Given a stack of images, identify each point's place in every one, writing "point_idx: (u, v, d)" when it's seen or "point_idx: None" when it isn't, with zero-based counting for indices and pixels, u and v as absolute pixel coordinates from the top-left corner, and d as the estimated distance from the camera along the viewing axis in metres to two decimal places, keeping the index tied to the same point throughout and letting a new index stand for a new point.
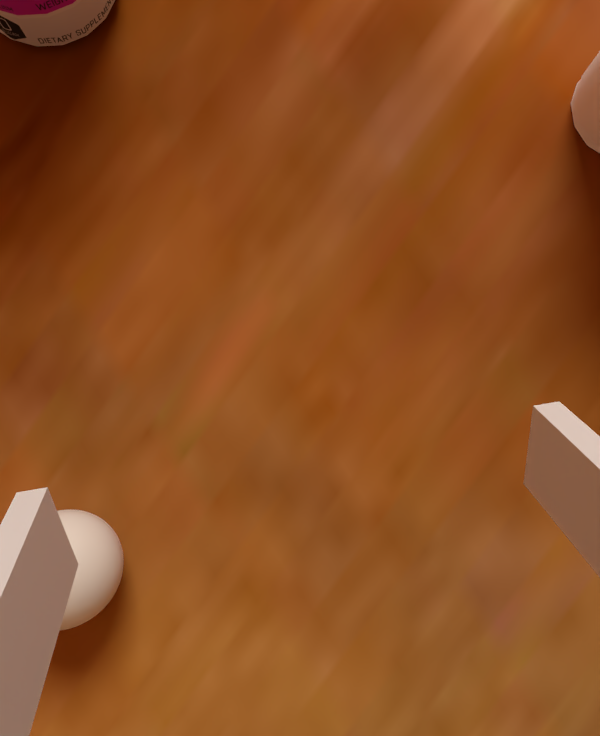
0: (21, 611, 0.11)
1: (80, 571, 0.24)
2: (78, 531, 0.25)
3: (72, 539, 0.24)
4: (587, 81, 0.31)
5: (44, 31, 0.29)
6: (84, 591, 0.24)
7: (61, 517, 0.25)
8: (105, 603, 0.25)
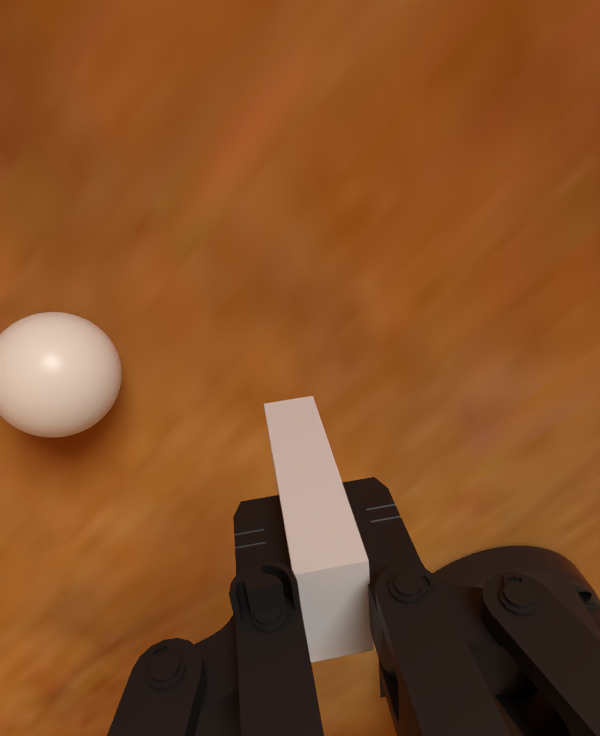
0: None
1: (79, 390, 0.22)
2: (72, 346, 0.22)
3: (67, 356, 0.21)
4: None
5: None
6: (86, 409, 0.22)
7: (49, 327, 0.22)
8: (106, 413, 0.24)
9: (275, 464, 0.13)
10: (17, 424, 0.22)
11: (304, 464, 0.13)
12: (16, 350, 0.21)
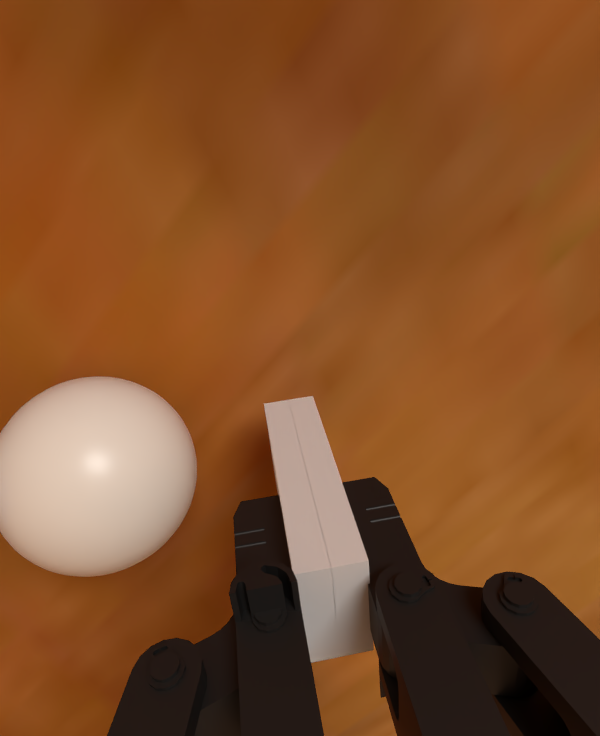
0: None
1: None
2: None
3: None
4: None
5: None
6: None
7: (52, 387, 0.15)
8: None
9: (275, 464, 0.13)
10: None
11: (304, 463, 0.13)
12: None
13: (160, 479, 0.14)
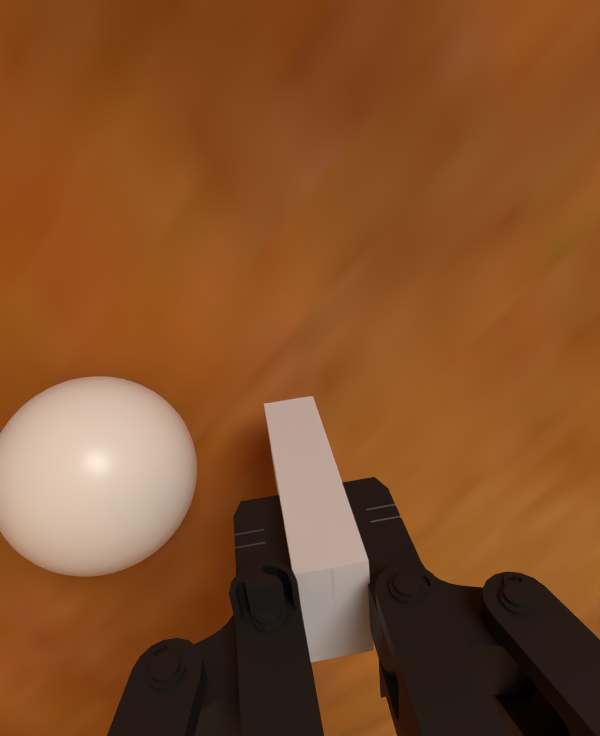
0: None
1: None
2: None
3: None
4: None
5: None
6: None
7: (52, 387, 0.15)
8: None
9: (275, 464, 0.13)
10: None
11: (304, 464, 0.13)
12: None
13: (160, 479, 0.14)
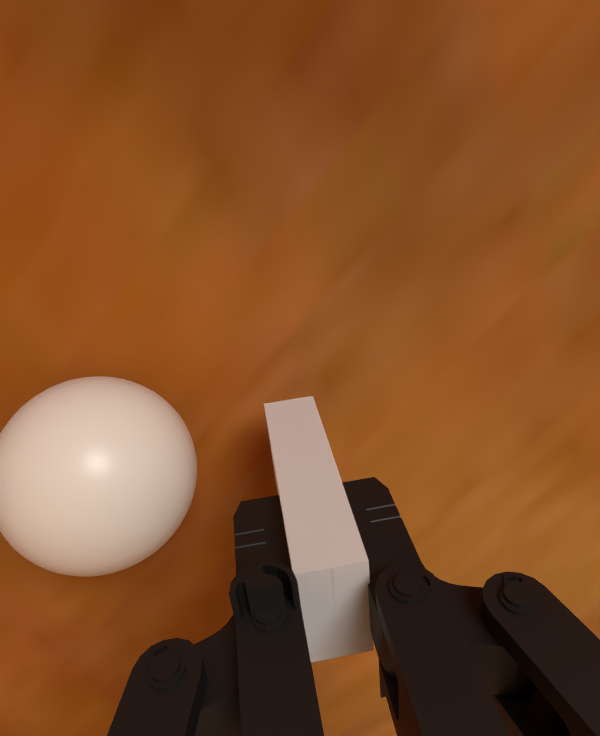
0: None
1: None
2: None
3: None
4: None
5: None
6: None
7: (52, 387, 0.15)
8: None
9: (275, 464, 0.13)
10: None
11: (304, 464, 0.13)
12: None
13: (160, 479, 0.14)
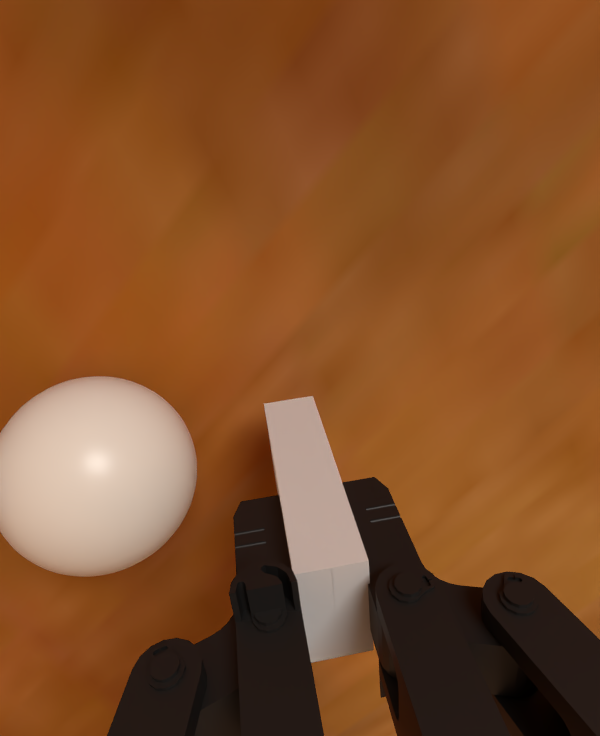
0: None
1: None
2: None
3: None
4: None
5: None
6: None
7: (52, 387, 0.15)
8: None
9: (275, 464, 0.13)
10: None
11: (304, 464, 0.13)
12: None
13: (160, 479, 0.14)
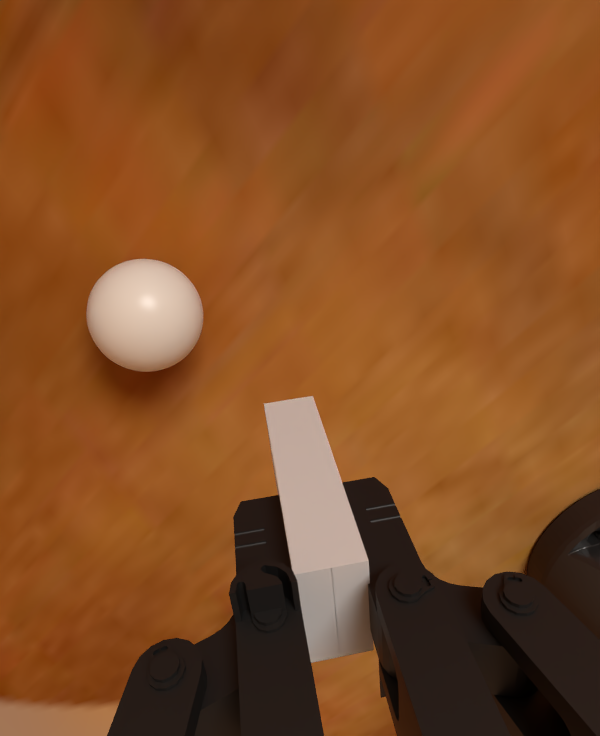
0: None
1: None
2: None
3: None
4: None
5: None
6: None
7: (121, 263, 0.26)
8: None
9: (275, 464, 0.13)
10: None
11: (304, 464, 0.13)
12: None
13: (183, 308, 0.25)
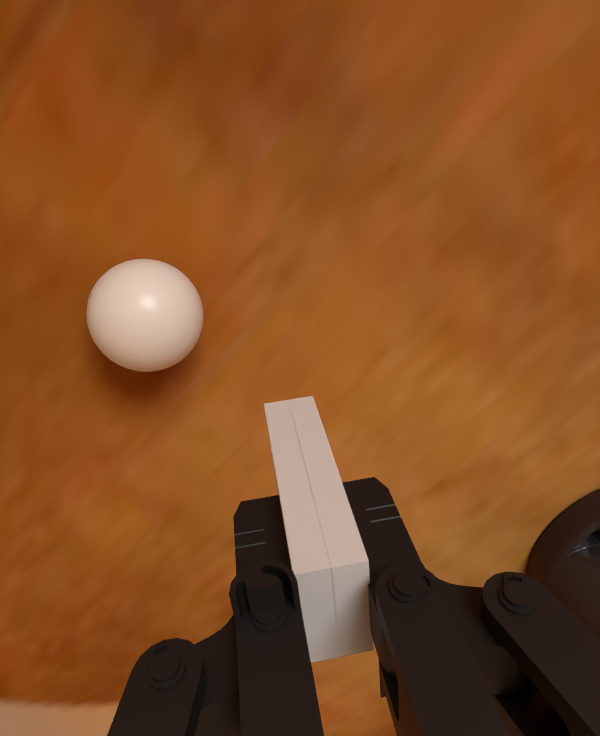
0: None
1: None
2: None
3: None
4: None
5: None
6: None
7: (121, 263, 0.26)
8: None
9: (275, 464, 0.13)
10: None
11: (304, 464, 0.13)
12: None
13: (183, 308, 0.25)
